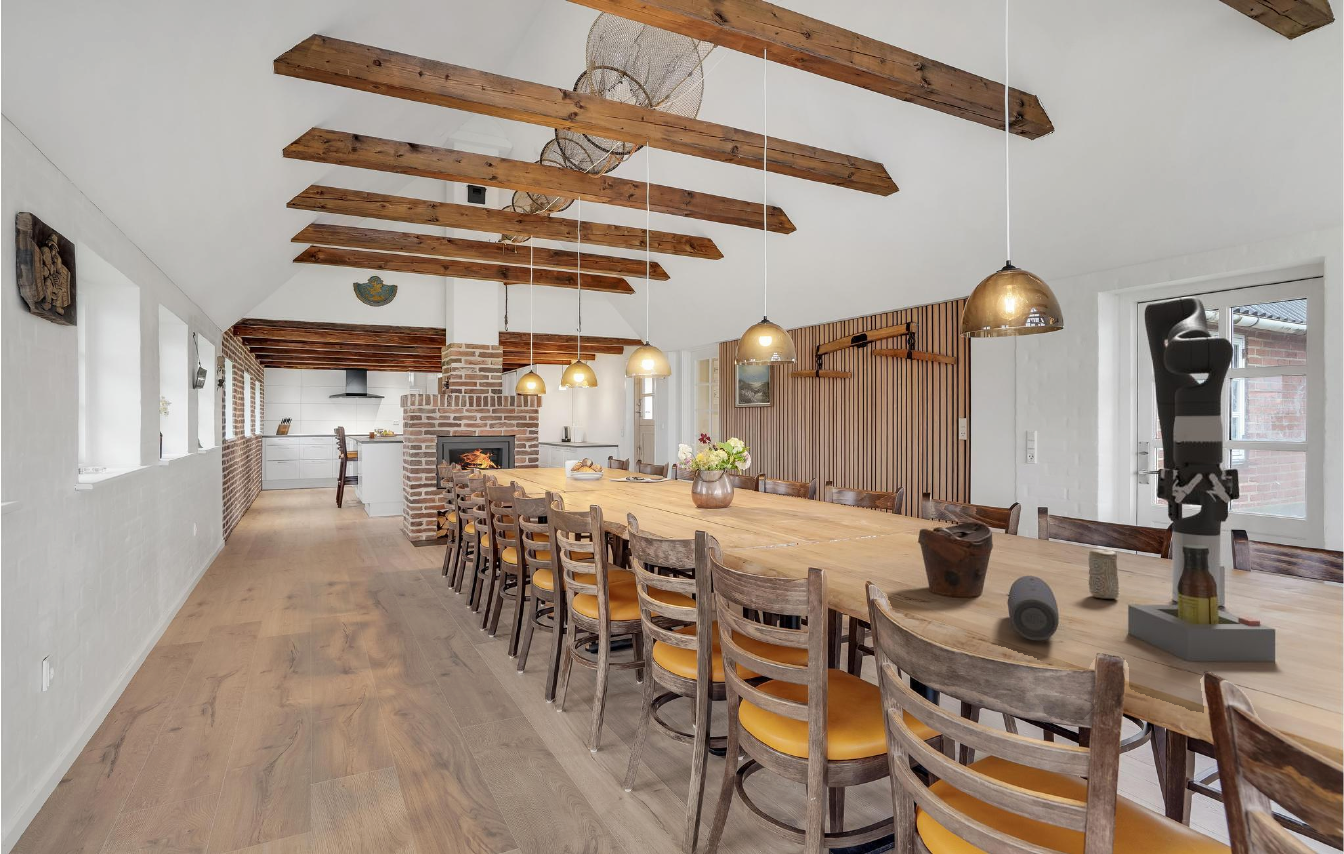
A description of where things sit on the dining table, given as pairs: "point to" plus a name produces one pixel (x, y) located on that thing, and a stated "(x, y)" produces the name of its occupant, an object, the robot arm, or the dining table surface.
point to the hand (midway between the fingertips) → (1197, 521)
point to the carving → (1103, 574)
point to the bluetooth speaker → (1033, 608)
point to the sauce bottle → (1197, 588)
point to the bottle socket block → (1202, 635)
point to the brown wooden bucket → (956, 558)
